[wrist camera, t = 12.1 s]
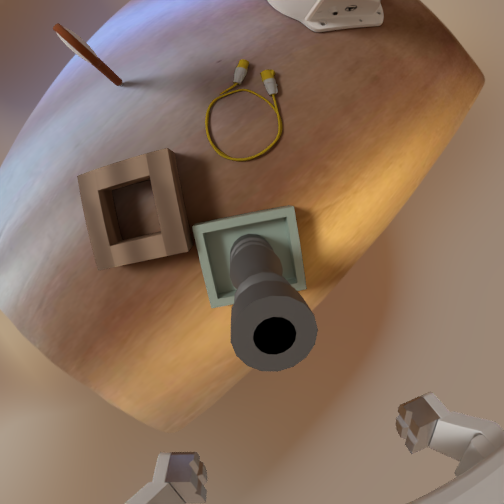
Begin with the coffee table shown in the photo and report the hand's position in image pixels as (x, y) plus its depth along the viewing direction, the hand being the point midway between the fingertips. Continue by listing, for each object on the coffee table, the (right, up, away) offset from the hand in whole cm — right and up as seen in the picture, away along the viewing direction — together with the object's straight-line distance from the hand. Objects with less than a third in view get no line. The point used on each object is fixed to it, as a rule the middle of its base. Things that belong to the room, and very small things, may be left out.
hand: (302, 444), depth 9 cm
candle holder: (-2, +7, +34) cm, 34 cm away
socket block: (-19, +14, +32) cm, 40 cm away
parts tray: (-2, +7, +34) cm, 35 cm away
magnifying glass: (-23, +34, +28) cm, 49 cm away
